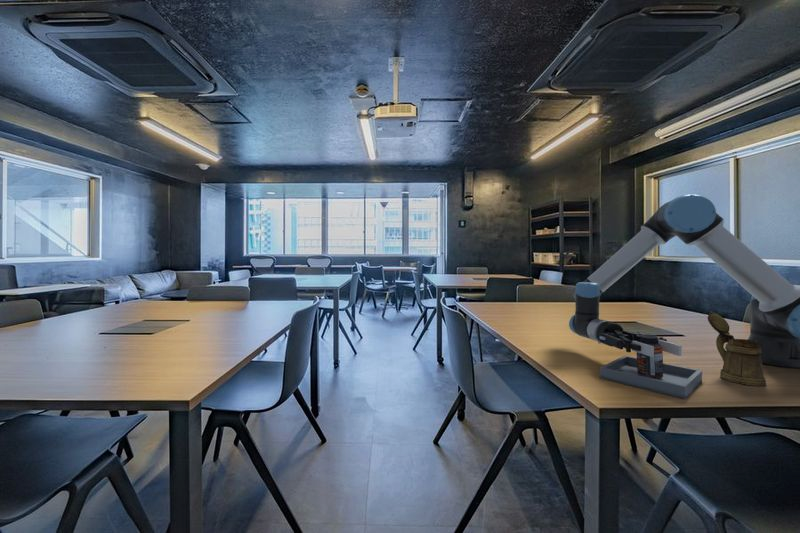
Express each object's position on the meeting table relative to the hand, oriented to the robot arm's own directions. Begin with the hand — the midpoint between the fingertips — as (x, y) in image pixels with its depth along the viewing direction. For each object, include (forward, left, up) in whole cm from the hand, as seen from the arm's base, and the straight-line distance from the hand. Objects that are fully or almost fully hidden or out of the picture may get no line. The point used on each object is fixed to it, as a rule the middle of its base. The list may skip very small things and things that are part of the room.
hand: (666, 351), depth 93 cm
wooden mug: (-10, -23, -9) cm, 27 cm away
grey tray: (+4, -3, -9) cm, 11 cm away
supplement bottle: (+4, -3, -8) cm, 10 cm away
